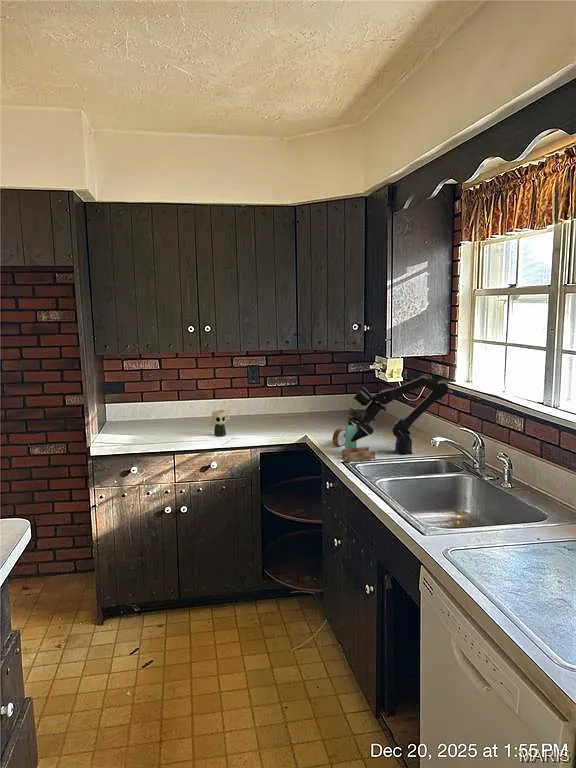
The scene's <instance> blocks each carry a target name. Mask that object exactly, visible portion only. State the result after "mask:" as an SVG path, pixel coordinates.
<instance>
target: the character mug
mask: <svg viewBox="0 0 576 768" xmlns="http://www.w3.org/2000/svg"><path fill="white" fill-rule="evenodd" d="M208 419H209V420H208V421H209V422H210V423H211V422H212V423H213V424H214V434H213V435H214V436H216V437H220V436H226V435H227V430H226V426H225V424H226V423H227V421H229V420H230V413H227V411H226V410H225V409H218V410H212V414H211V415H208Z"/></svg>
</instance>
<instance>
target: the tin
mask: <svg viewBox="0 0 576 768" xmlns="http://www.w3.org/2000/svg"><path fill="white" fill-rule="evenodd" d="M344 434H345V425H344V426H342V427H339V428H336V429H335V431H334V432H333V433H332V443H333V445H334V446H336V447H337V446H338V447H342V446H345V437H344Z"/></svg>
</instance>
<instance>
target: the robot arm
mask: <svg viewBox="0 0 576 768" xmlns="http://www.w3.org/2000/svg"><path fill="white" fill-rule="evenodd" d="M422 387H425V388H427V389H428V390H430V392H429V394H428V395H426V397H425V398H424V399H423V400H422V401H421V402H420V403H419V404H418V405H417V406H416V407H415V408H413V410H412V411H410V413H409V414H408V415H406V416H405V417H404V418H403V417H402V416H400V417H399V419H398V420H395V422H394V424H393V428H392V434H393V435H394V437H396V439H395V441H396V442H395V443H394V444H395V445H394V452H395V453H397V454H398V453H399V455H400V454H404V455H408V454H407V453H412V452H413V440H412V438H411V435H412V433H411V431H410V430H409V429H410V428H411V426H412V425H413V423H414V422H416V420H417V419H418V418H420V417H421V415H422V414H424V413H425V412H426V411H427V410H428V409H429V408H430V407H431V406H432V405H433V404H434V403H435V402H437V401H438V400H441V399H442V398H443V397H445V396H447V395H448V394H449V391H450V390H449V384H448V383H447V382H446V381H445V380H439V381H438V380H436V379H432V378H429V377H427V376H425V375H422V376H420V377H419V378H416V379H414V380H411V381H408V382H406V383H404V384H402V385H400V386H397V387H393V388H391V387H390V388H386V389H382V390H381V391H379V393H378V392H377V393H373V394H371V393H370V392H369V391H368V390H367V389H366V387H364V386H363V387H362V388H361V389H360V390H359V391H358V393H356V395H354V397H353V399H354V400H355V401H356V402H358V403H357V404H359V405H361V406H362V407H363V406H366V408H365V409H360V408H356V409H355V408H352V407H349V409H348V412H347V415H349V416H347V418H346V420H347V421H346V422H347V425H355V426H356V433H355V435H354V436H353V438H352V439H351V441H352V442H354V441H356V440H357V441H358V440H360V439H363V438H365V437H369V435H370V436H372V435H373V434H374V428H373V427H372V426H371V425H370V424H371V423H372V422H375V420H376V419H375V418H376V417H377V416H378V415H379V413H380V412H384V413H386V412H387V406H386V405H388V404H389V403H391V402H392V401H394V400H395V399H396V398H399V397H400V396H403V395H404V394H407V393H410V392H412V391H414V390H417V389H420V388H422ZM344 437H345V434H344ZM413 454H414V452H413Z"/></svg>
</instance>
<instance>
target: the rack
mask: <svg viewBox="0 0 576 768" xmlns="http://www.w3.org/2000/svg"><path fill="white" fill-rule="evenodd" d="M341 454H342V455H341V457H342V458H341V459H342V460H343V461H344V460H345V462H347V463H348V462H355V463H358V462H357V461H363V460H371V459H375V460H376V451H375V450H370V448H369V446H362V447H357V448H351V449H345V448H344V449H343V448H342V449H341Z"/></svg>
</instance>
